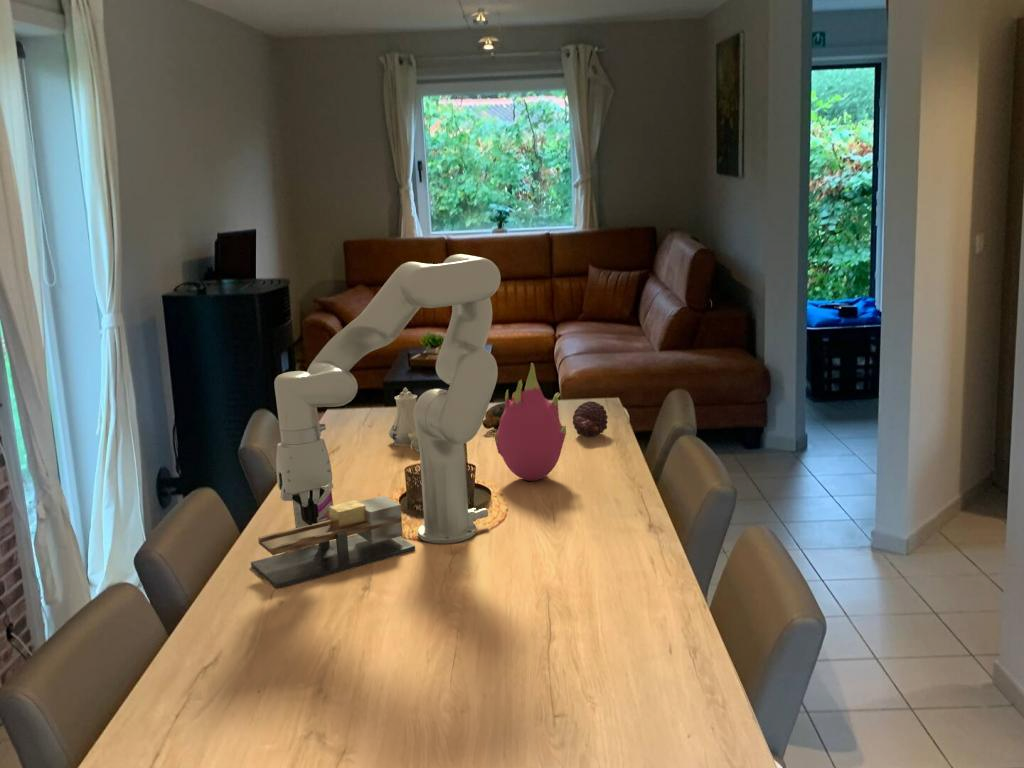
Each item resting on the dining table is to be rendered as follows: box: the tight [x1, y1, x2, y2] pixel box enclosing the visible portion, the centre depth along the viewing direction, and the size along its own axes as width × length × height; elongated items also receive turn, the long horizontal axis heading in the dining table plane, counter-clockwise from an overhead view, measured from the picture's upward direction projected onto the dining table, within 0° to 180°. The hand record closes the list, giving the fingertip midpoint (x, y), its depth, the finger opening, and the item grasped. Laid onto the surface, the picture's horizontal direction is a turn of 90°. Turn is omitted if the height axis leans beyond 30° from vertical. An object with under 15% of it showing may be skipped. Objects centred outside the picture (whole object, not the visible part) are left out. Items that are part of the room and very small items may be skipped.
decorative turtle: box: [481, 402, 505, 430], centre depth 297 cm, size 10×15×8 cm, turn 137°
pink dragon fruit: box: [494, 362, 567, 482], centre depth 248 cm, size 18×14×30 cm
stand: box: [250, 518, 416, 590], centre depth 206 cm, size 30×14×7 cm, turn 124°
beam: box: [257, 495, 404, 556], centre depth 205 cm, size 28×8×7 cm, turn 124°
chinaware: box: [388, 387, 420, 454], centre depth 286 cm, size 28×17×17 cm, turn 177°
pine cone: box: [572, 400, 609, 439], centre depth 286 cm, size 18×10×10 cm, turn 178°
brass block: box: [329, 499, 367, 530], centre depth 207 cm, size 6×4×4 cm
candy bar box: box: [292, 489, 334, 528], centre depth 222 cm, size 11×5×16 cm, turn 168°
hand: (310, 522), depth 202 cm, fingers closed
